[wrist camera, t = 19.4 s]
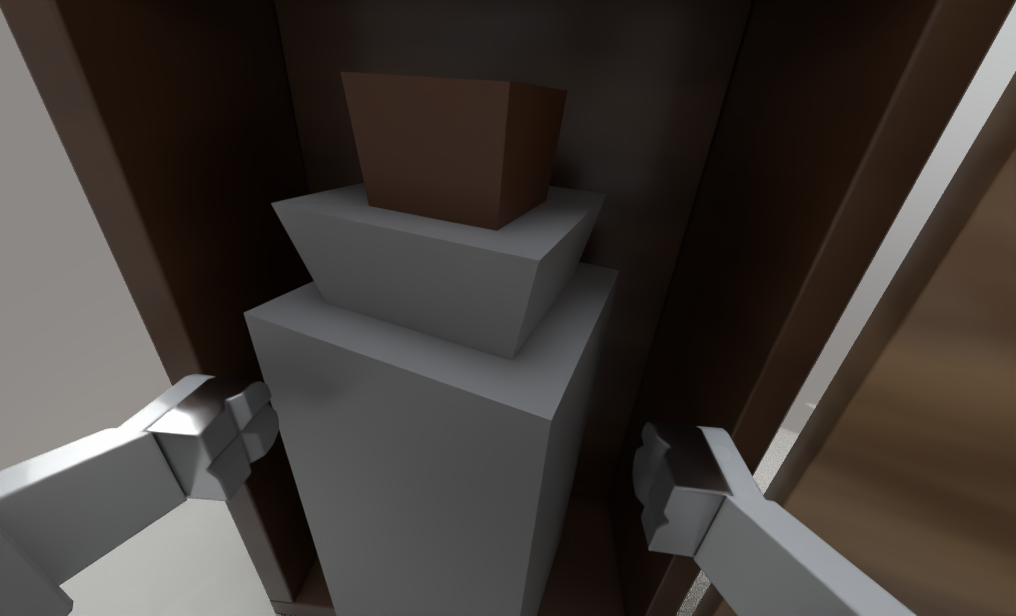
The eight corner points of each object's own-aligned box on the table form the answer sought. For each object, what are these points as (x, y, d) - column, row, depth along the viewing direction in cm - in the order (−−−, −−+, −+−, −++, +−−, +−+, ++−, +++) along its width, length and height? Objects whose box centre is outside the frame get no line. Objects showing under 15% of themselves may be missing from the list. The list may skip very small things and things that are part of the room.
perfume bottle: (501, 727, 12) (605, 80, 4) (339, 623, 15) (164, 56, 6) (560, 537, 18) (657, 98, 9) (436, 481, 20) (420, 82, 11)
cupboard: (650, 662, 15) (1204, -331, 4) (274, 613, 15) (-175, -366, 4) (619, 498, 21) (798, -67, 10) (351, 467, 22) (241, -97, 11)
